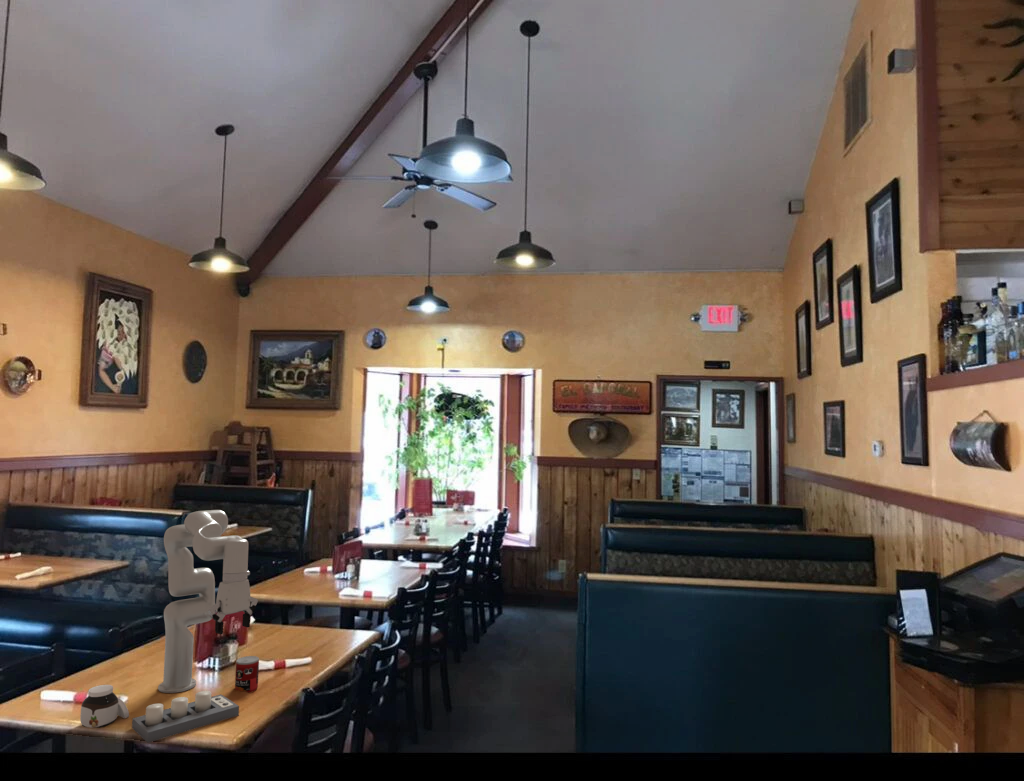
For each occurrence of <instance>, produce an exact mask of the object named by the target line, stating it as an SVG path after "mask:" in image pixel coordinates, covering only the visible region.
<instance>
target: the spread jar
mask: <svg viewBox="0 0 1024 781" xmlns="http://www.w3.org/2000/svg"><path fill="white" fill-rule="evenodd" d="M113 691H114V686H113V685H111V684H101V685H96V686H93V687H91V688H89V689H88V691H87V692H88V694H87V695H88V696H87V697H85V698H84V700H83V701H82V703H81V706H80V714H79V716H80V723H81V726H83V727H85V728H90V729H91V728H92V729H93V728H94V729H101V728H104V727H107V726H109V725H112V724H113V723H114V722H115V721H116V719H117V718H118V717H121V718H123V719H125V720H126V719H127V718H129V717H130V714H129V713H130V712H129V709H128V707H127V705H126V703H125V702H124V701H123V700H122V699H121V698H119V697H118V696H117V695H116V693H114V692H113Z"/></svg>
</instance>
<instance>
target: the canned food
mask: <svg viewBox="0 0 1024 781" xmlns="http://www.w3.org/2000/svg"><path fill="white" fill-rule="evenodd" d="M259 665H260V658H259V656H256V655H248V656H247V655H246V656H242V657H239V658H237V659H236V661H235V680H234V682H235V684H234V690H235V691H238V692H246V693H253V692H255V691H257V690H258V687H259V673H260V672H259V667H260V666H259Z"/></svg>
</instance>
